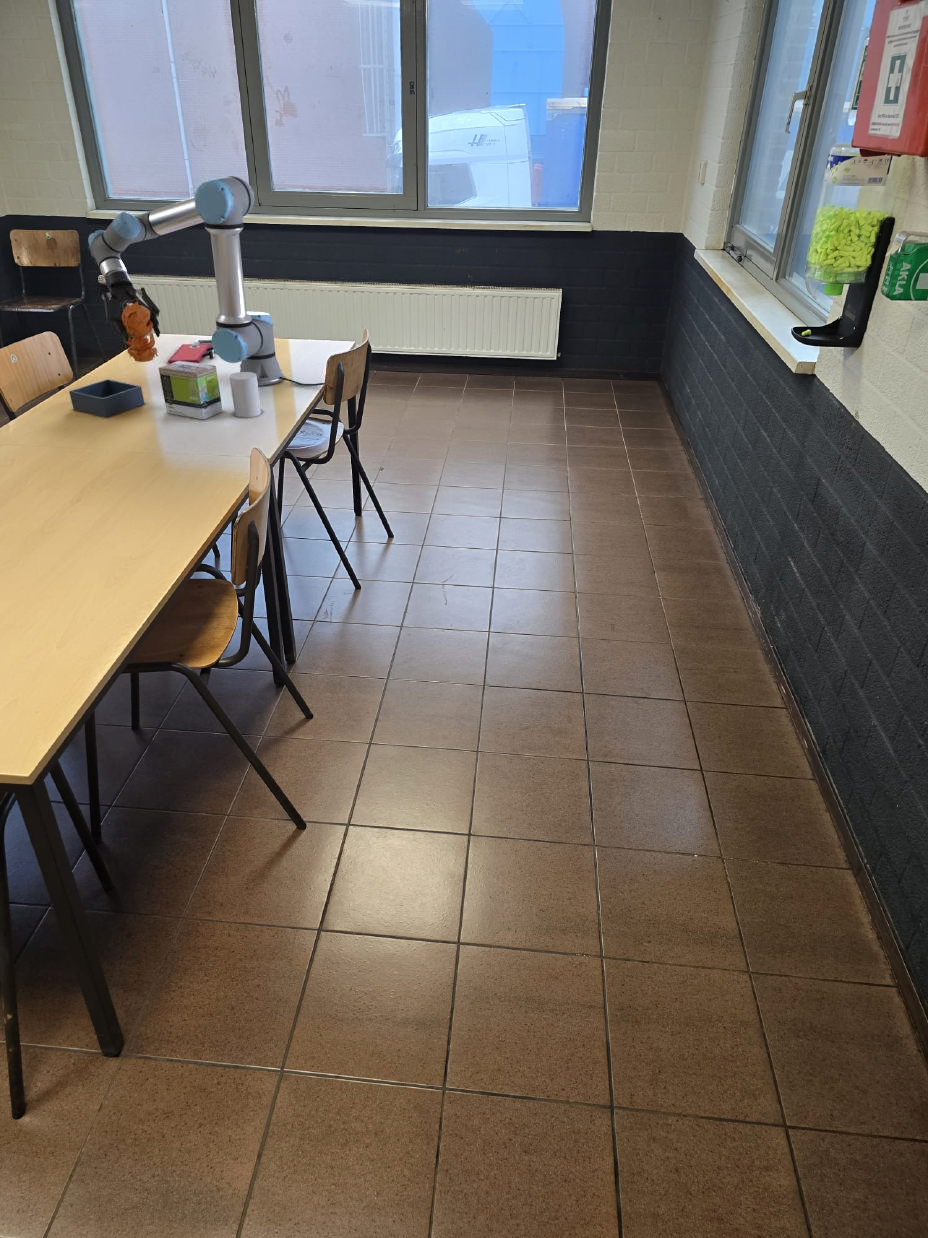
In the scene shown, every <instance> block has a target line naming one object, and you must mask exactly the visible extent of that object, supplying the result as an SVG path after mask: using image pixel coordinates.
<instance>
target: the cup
mask: <svg viewBox="0 0 928 1238" xmlns="http://www.w3.org/2000/svg"><path fill="white" fill-rule="evenodd" d="M229 382H230V389H231V396H232V403H233V411H234V415H235V416H236V417H239V418H253V417H257V416H260V415H261V414H262V408H261V401H260V393H259V386H258V384H257V376H256V374H255V373H252V372H240V371H238V372H234V373H231V374H230V375H229Z"/></svg>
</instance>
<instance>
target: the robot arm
mask: <svg viewBox="0 0 928 1238" xmlns="http://www.w3.org/2000/svg"><path fill="white" fill-rule="evenodd" d="M254 205H255V192H254V191H253V188H252V186H251V185H250V183H248V182H247V181H246V180H245V179H244V178H242V177H239V176H236V175H231V176H224V177H218V178H217V177H216V178H211V179H208V180H205V181H204V182H202V183H201V184H200V185H198V187H197V189H196V191H195V193H194V196H192V197H190V198H186V199H184V200H181V201H178V202H175V203H171V204H169V205H166V206H162V207H160V208H156V209H154V210H151V211H148V212H145V213H142V214H138V215H133V214H131V213H128V212H127V211H122V212H120V213H119V214H118V215H117V216H115V217H114V218H113V220H112V221H111V223H110V224H109V225H108V227H107V228H106V229H105V230H103V229H98V230H95V231H94V232H92V233H90V234H89V235H88V239H87V241H88V245H89V248H90V251H91V254H92V255H93V257H94V259H95V261H96V263H97V266H98V268H99V270H100V272H101V275H102V277H103V279H104V281H105V283H106V286H107V288H108V290H109V292H106V291H102V294H101V299H102V301H103V303H104V307H105V316H106V322H107V323H108V324H113V326H115V328H116V330H117V332H118V333H121V335H122V337H123V339H124V342H125V341H126V342H128V339H129V337H130V335H129V334H128V333H127V331H126V329H125V327H124V325H123V322H122V318H119V316H120V310H121V305H127V304H129V305H130V304H131V305H133V304H135V303H136V302H138V305H141V306H144V307H145V308H147V309H148V310H149V311H150V317H149V319H150V320H151V321H152V322H153V328H152V331H154V334H155V336H156V338H160V335H161V331H160V328H159V325H160V322H159V320H158V317H159V316H160V313H161V310H160V309H159V308H158V306H157V305H156V303H155V302H154V301H153V300H152V298H151V297H150V296H149V295H148V294H147V291H146V289H145V287H143V286H142V287H141V288H135V287H134V284H133V282H132V280H131V277H130V276H129V274H128V271H127V268H126V267H125V264H124V262H123V260H122V258H121V254H122V253H123V252H124V251H125V250H126V249H127V248H128V246H130V245H131V244H134V243H139V242H142V241H146V240H147V241H148V240H153V239H156V238H158V237H160V236H163V235H167V234H170V233H172V232H175V231H179V230H182V229H185V228H188V227H192V226H196V225H198V224H202V223H203V225H204V229H205V230H206V231H207V232H208V233H209V234H210V240H211V241H210V243H211V251H212V258H213V268H214V276H215V284H216V293H217V301H218V310H219V314H218V315H217V316H216V317H215V327H216V330H215V331H214V332H213V334H212V336H211V340H212V344H211V347H213V349H214V350H213V352H214V351H215V353H214V354H216V355H217V356H218V357H219V358H220V360H222V361H224V362H226V363H229V364H237V363H240V362H241V363H240V365H239V372H252V373H255V374H256V376H257V384H258V387H265V386H272V385H276V384H279V383H280V382H281V383H282V381H287V382H290V383H292V384H295V385H298V386H303V387H318V386H325V385H324V384H325V383H326V382H318V383H302V382H299V381H295V380H292V379H289V378H287V377H284V373H283V370H282V369H281V367H280V364H279V361H278V359H277V355H276V348H275V347H276V346H275V336H274V335H275V334H274V324H273V323H274V322H273V320H272V316H271V315H270V314H269V313H268V312H262V311H247V304H246V302H247V301H246V292H245V283H244V282H245V280H244V272H243V262H242V261H243V259H242V249H241V240H240V239H241V238H240V233H242V231H243V229H244V220H243V218H244V217H246V216H247V215H249V214H250V213H251V212H252V210H253V208H254ZM140 298H141V299H142V300H143V301H142V300H141V299H140ZM111 299H113V300H115V302H116V304H115V309H114V311H115V312H114V315H113V316H112V309H111V301H110V300H111ZM126 342H125V343H126Z"/></svg>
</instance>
